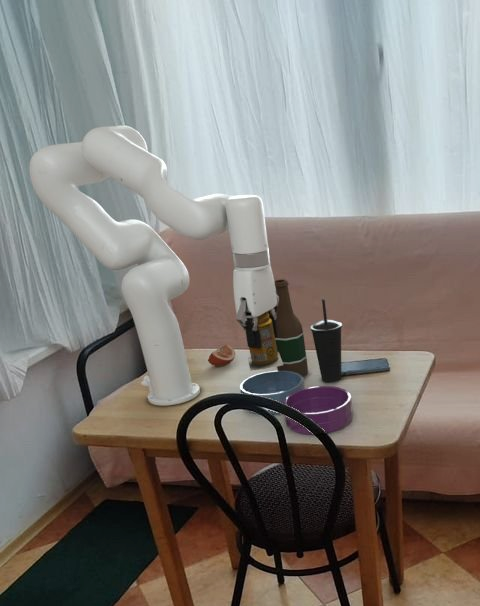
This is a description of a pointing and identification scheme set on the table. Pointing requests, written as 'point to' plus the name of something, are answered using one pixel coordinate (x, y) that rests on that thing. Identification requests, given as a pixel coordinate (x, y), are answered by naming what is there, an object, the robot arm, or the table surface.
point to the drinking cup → (328, 347)
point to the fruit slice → (222, 356)
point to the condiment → (264, 346)
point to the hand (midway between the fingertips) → (263, 341)
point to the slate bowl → (273, 385)
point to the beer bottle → (289, 334)
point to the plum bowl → (321, 408)
